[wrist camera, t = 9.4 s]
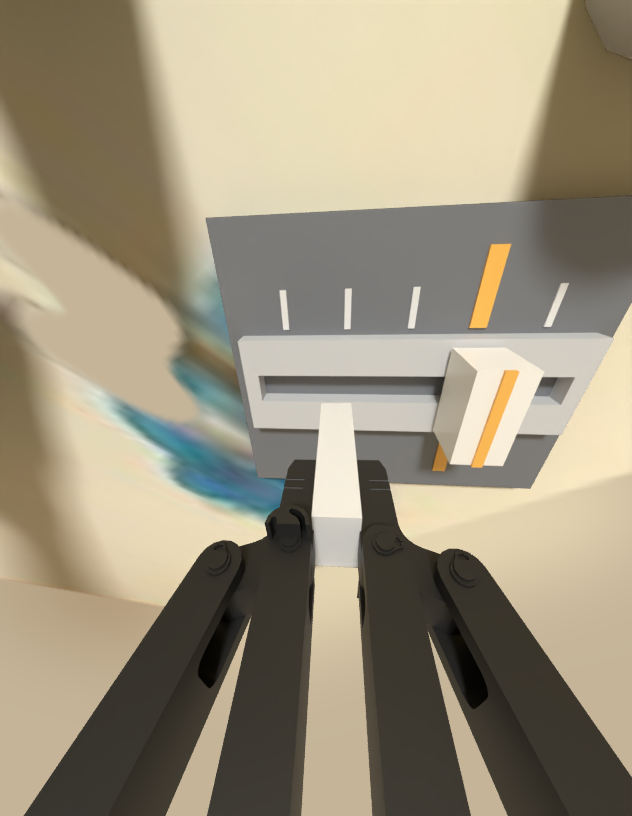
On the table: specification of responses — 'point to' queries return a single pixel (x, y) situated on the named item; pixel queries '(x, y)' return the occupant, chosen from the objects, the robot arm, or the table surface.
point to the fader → (483, 404)
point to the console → (417, 321)
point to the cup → (613, 24)
